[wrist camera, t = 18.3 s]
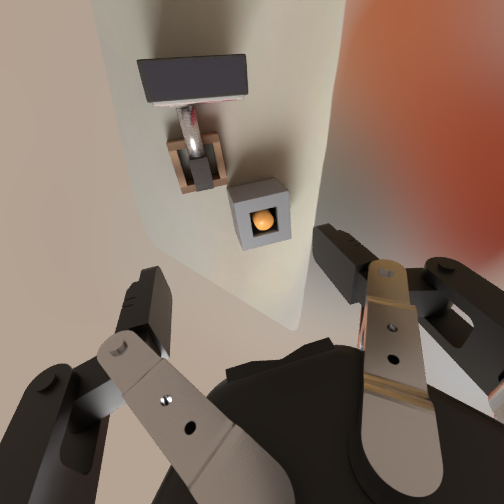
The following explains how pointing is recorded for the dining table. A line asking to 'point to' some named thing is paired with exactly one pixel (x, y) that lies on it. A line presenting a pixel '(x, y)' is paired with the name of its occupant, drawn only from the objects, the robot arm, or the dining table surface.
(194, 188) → the wooden square frame
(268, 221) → the button
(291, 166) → the dining table surface
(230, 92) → the calculator
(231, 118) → the dining table surface
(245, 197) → the guard box
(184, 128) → the stylus
